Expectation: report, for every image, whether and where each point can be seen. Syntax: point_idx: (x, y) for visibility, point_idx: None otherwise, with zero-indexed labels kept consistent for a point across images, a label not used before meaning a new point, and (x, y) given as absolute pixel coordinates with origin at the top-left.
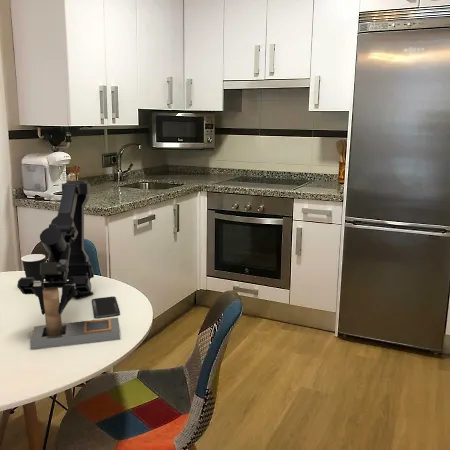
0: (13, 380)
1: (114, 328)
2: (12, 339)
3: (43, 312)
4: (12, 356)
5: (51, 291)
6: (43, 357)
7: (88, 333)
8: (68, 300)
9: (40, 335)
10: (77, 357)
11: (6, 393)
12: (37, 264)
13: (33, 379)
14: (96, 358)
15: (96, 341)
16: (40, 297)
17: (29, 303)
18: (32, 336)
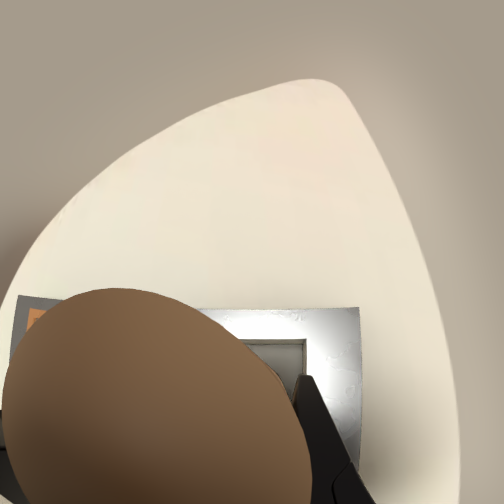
0: (348, 135)
1: (23, 320)
2: (432, 425)
3: (297, 378)
4: (404, 273)
5: (88, 352)
6: (286, 238)
7: None
8: None
9: (315, 360)
10: (167, 213)
11: (344, 98)
12: None
13: (295, 128)
14: (119, 198)
15: None
16: (343, 501)
17: None
18: (354, 356)
